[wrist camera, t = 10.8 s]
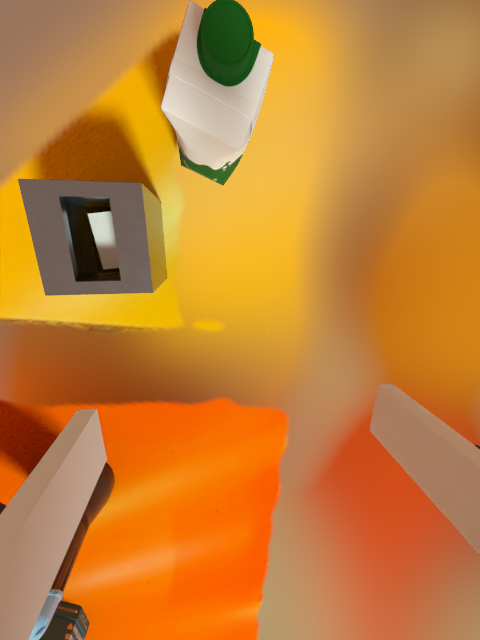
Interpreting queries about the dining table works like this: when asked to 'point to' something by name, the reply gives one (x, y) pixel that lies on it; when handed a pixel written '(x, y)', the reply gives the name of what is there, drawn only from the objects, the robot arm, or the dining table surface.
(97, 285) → the grey open box
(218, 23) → the milk carton
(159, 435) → the dining table surface
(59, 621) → the donation box
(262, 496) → the dining table surface
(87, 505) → the robot arm
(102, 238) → the white rectangular block
